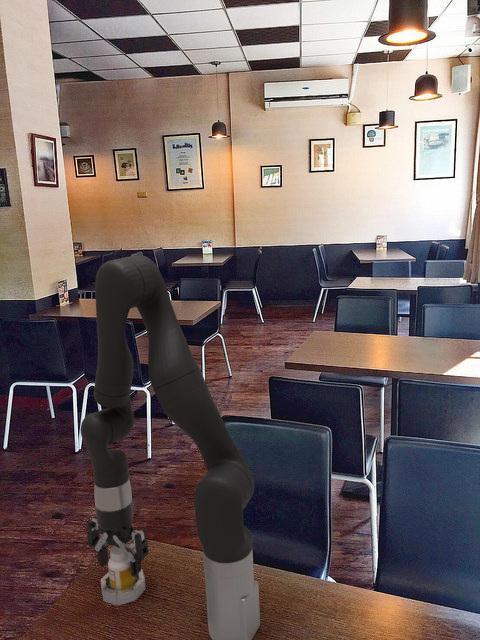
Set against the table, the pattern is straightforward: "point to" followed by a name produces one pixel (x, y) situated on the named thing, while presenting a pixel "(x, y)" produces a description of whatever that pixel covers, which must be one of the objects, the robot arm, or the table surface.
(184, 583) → the table surface
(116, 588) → the supplement bottle
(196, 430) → the robot arm
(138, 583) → the ring holder
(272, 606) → the table surface
